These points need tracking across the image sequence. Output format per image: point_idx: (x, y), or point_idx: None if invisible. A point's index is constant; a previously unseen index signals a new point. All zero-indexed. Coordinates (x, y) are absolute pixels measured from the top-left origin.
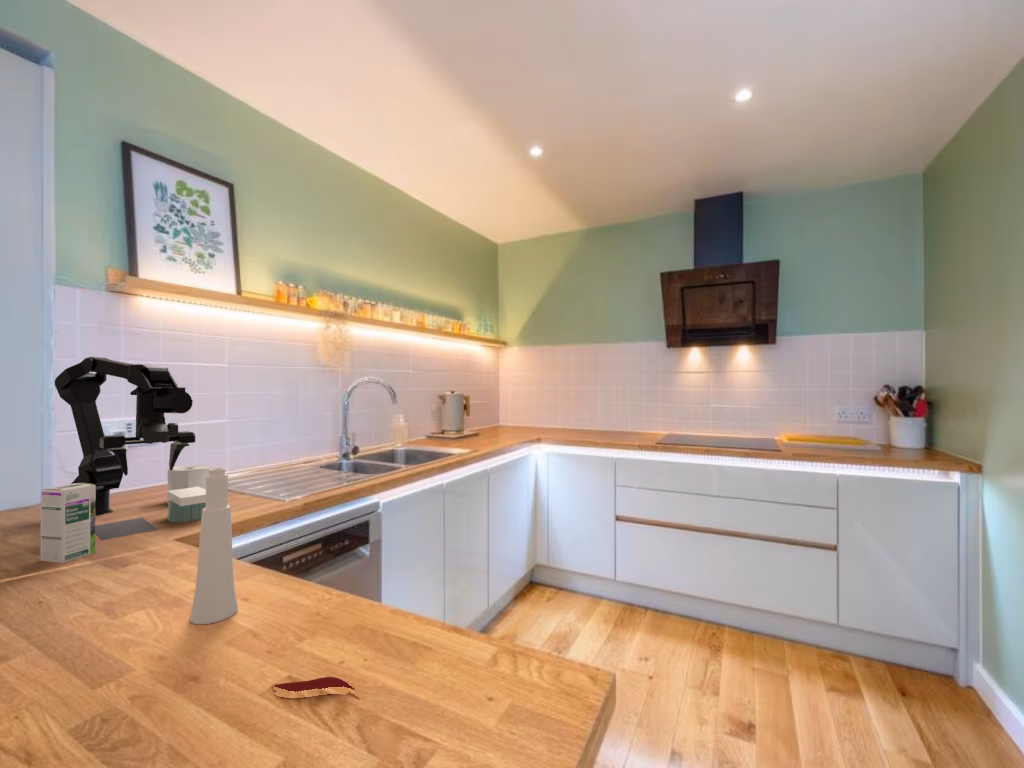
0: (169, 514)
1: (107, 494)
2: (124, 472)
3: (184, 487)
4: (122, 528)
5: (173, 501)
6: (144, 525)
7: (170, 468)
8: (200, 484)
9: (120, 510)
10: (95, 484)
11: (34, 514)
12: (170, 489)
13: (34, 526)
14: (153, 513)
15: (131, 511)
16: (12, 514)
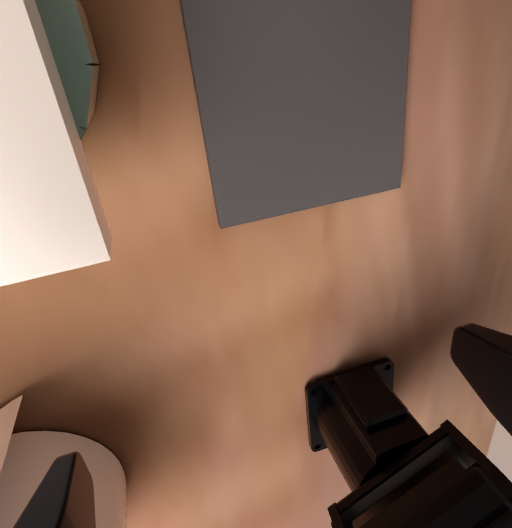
0: (82, 12)
1: (358, 455)
2: (501, 334)
3: None
4: (313, 27)
5: (46, 39)
6: (218, 13)
7: (76, 473)
8: None
9: (279, 423)
10: (452, 455)
11: None
12: (110, 522)
13: (484, 321)
14: (174, 322)
15: (249, 394)
16: None
